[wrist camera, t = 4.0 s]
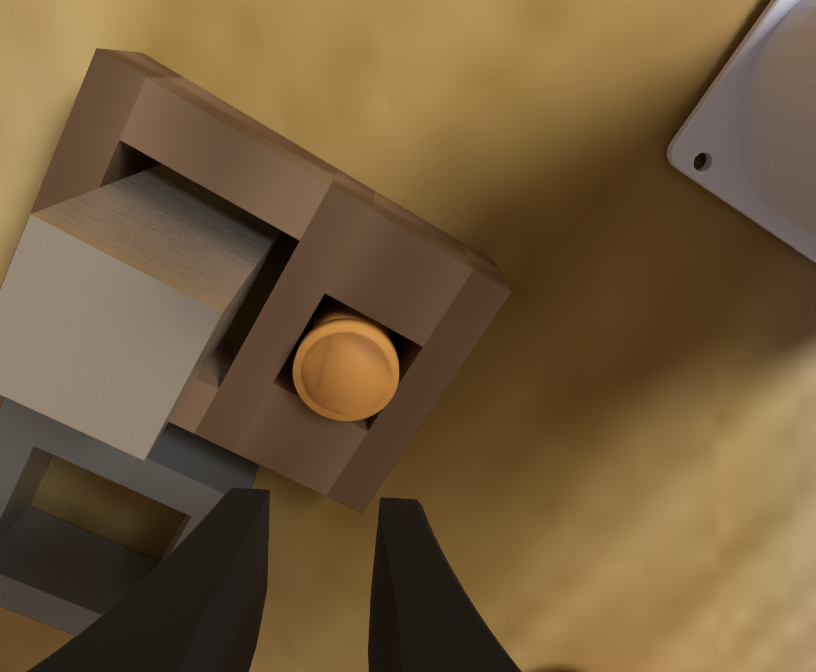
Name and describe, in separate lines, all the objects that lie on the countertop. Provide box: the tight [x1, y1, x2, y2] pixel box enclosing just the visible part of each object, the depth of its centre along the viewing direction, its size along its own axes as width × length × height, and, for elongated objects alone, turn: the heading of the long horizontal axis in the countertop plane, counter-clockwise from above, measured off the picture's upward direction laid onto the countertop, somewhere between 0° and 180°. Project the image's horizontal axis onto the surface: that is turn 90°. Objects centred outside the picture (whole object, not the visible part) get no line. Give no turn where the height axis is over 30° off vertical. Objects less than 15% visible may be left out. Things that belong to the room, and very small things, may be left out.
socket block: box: [0, 48, 511, 513], centre depth 19 cm, size 11×8×3 cm
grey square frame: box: [0, 397, 259, 636], centre depth 21 cm, size 7×7×3 cm
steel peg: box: [0, 164, 282, 460], centre depth 16 cm, size 4×4×8 cm
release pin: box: [293, 298, 399, 421], centre depth 19 cm, size 3×3×3 cm
